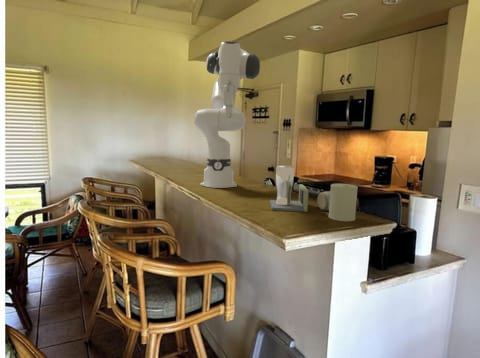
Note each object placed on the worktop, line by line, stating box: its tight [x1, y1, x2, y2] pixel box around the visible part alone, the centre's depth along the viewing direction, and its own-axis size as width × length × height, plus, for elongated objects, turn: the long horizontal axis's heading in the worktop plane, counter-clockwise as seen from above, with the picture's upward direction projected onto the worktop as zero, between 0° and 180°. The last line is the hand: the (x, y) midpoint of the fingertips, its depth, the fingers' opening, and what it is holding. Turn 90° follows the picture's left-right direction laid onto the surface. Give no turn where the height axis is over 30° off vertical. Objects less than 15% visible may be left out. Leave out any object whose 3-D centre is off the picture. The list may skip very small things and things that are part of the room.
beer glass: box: [275, 164, 295, 206], centre depth 136 cm, size 7×7×15 cm
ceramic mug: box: [316, 190, 331, 212], centre depth 132 cm, size 11×8×8 cm
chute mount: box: [269, 183, 309, 212], centre depth 137 cm, size 14×13×8 cm
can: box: [327, 183, 358, 222], centre depth 122 cm, size 9×9×12 cm
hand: (228, 117), depth 142 cm, fingers open, 8 cm apart
